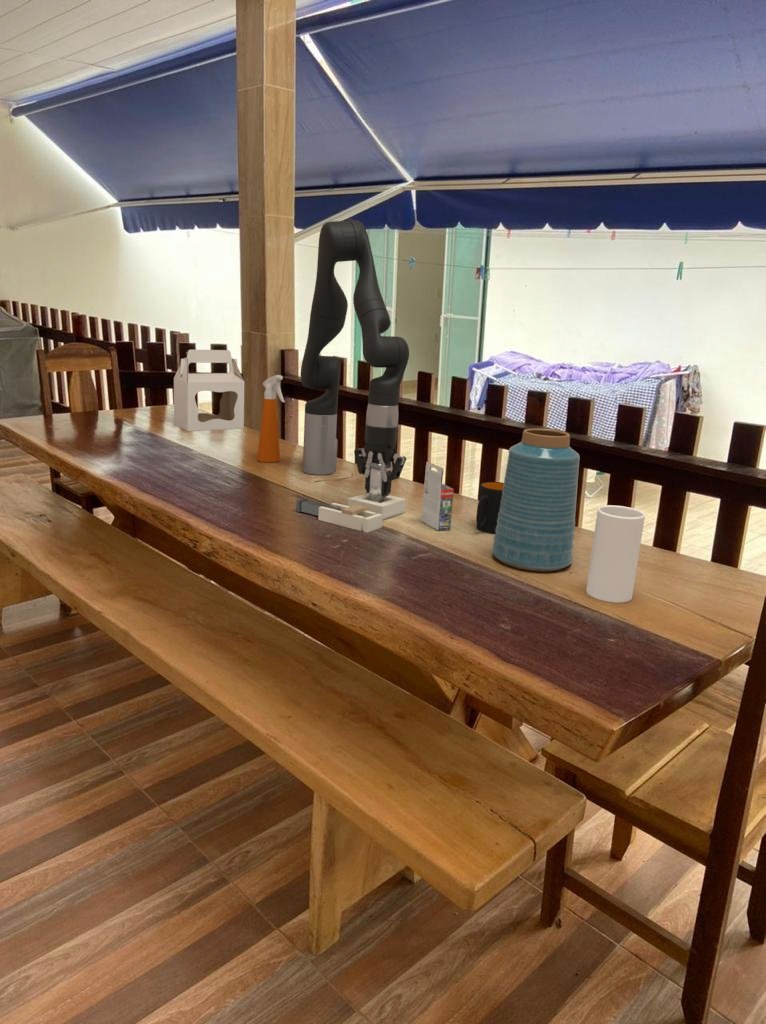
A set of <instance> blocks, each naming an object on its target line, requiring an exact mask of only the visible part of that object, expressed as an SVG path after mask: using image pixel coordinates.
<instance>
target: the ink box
mask: <svg viewBox="0 0 766 1024" xmlns="http://www.w3.org/2000/svg"><path fill="white" fill-rule="evenodd" d="M432 468H434V469H435V470H437V471H435V470H432ZM424 472H425V473H424V474H425V475H424V485H423V496H422V497H423V498H422V510H421V511H422V513H421V522H422V523H423V524H425V525H427V526H428V527H430V528H433V529H434V530H436V531H439V532H440V531H442V532H443V531H450V530H451V527H452V526H451V524H452V513H453V500H454V488H453V487H452V486H451V487H450V486H448V485H446V484H444V483H443V478H444V477H443V476H444V467H442V466H439V465H436V464H434V463H431V462H430V461H426V464H425V471H424Z"/></svg>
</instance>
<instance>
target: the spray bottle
mask: <svg viewBox="0 0 766 1024" xmlns="http://www.w3.org/2000/svg"><path fill="white" fill-rule="evenodd" d="M283 378H284V377H283V376H282V375H281V374H275V375H272V376H270V377H269V378H267V379H265V380H264V381H263V382H262V385H263V387H264V388H265V391H264V392H263V393H264V394H263V405H262V414H261V421H260V422H261V424H260V429H259V430H260V431H259V439H258V447H257V456H256V460H257V461H258V462H260V463H267V464H268V463H269V464H272V463H279V462H280V461H281V454H280V450H281V449H280V437H279V436H280V435H279V422H278V420H279V419H278V406H277V396H278V398H279V400H280V401H281V402H282V403H286V400H285V399H284V396H283V392H282V390H281V389H282V388H281V383H282V381H283Z"/></svg>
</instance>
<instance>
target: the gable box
mask: <svg viewBox="0 0 766 1024" xmlns="http://www.w3.org/2000/svg"><path fill="white" fill-rule="evenodd" d="M185 353H186V357H184V358H180V363H179V367H178V369H177V370H176V373H175V375H174V377H173V424H174V426H175V427H178V428H180V429H182V430H184V431H186V432H200V431H201V432H202V431H224V430H244V429H245V425H244V424H245V380H244V378H243V376H242V373H241V372H240V369H239V367H238V358H233V357H232V353H231V350H229V349H188V350H187V351H186V352H185ZM193 363H195V364H199V363H201V364H202V363H203V364H208V363H211V364H217V363H218V364H219V363H221V364H228V366H229V367H228V368H229V369H228V370H229V373H227V372H226V373H216V372H215V373H189V365H190V364H193ZM200 392H214V393H222V395H221V398H220V400H219V413H218V414H211V413H205V412H202V413H201V412H200V413H199V407H198V405H197V403H196V395H197V393H200Z"/></svg>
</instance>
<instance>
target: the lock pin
mask: <svg viewBox="0 0 766 1024" xmlns="http://www.w3.org/2000/svg"><path fill="white" fill-rule="evenodd" d="M295 505H296V509H295V511H296V512H297V513H301V512H302V513H305V514H310V515H313V516H319V507H321V506H323V507H327V508H331V509H335V510H339V511H340V508H339V507H335V506H331V504H326V503H321V502H319V501H315V500H311V499H310V500H309V498H306V497H303V498H300V499H296V504H295Z"/></svg>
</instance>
